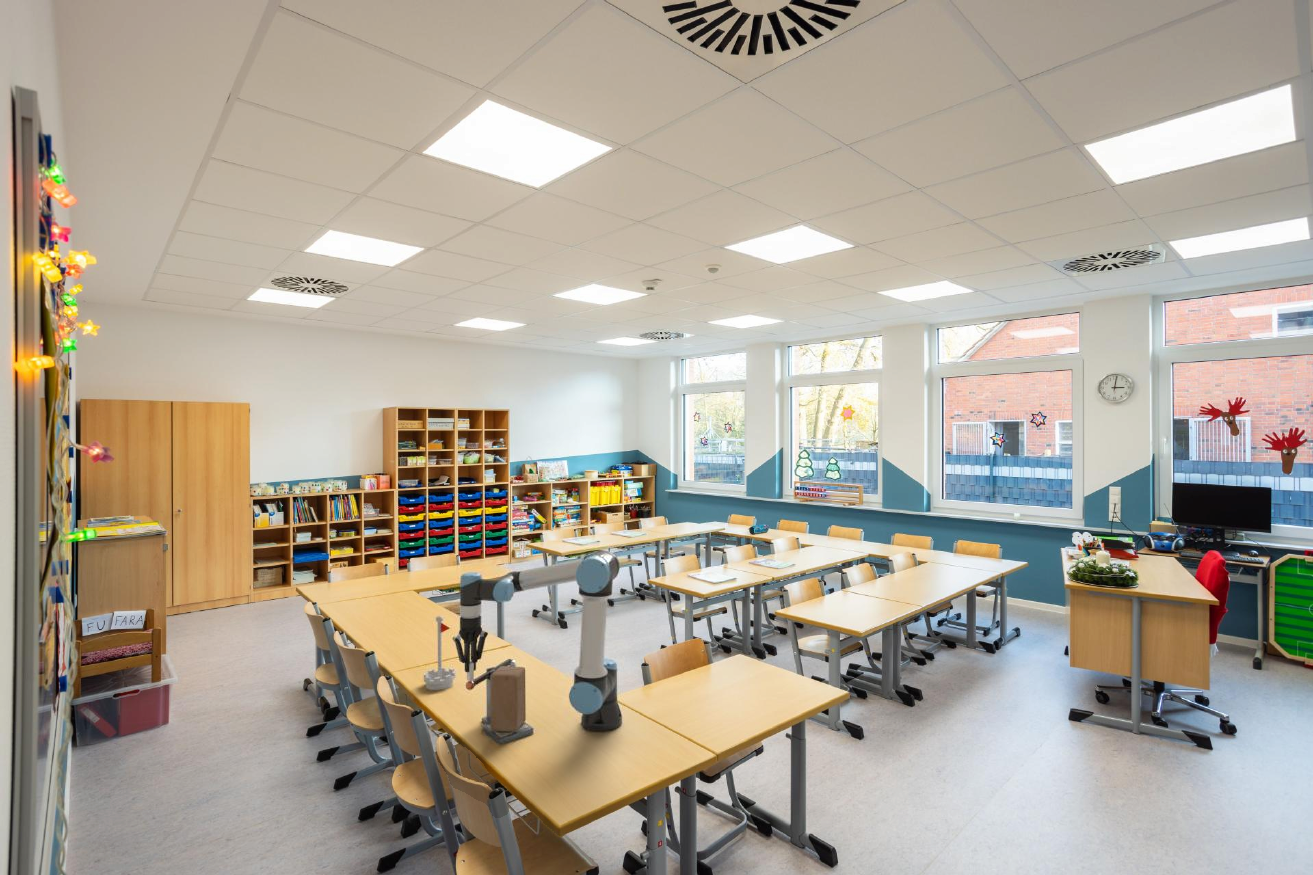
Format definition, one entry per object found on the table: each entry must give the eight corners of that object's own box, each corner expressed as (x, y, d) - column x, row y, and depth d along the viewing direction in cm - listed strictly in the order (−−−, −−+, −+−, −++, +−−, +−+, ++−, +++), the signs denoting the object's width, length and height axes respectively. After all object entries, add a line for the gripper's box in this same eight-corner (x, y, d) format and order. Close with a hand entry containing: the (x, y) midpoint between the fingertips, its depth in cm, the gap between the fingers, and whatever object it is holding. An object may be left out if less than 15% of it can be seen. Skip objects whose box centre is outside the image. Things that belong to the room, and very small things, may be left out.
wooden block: (516, 733, 223) (515, 676, 223) (489, 731, 224) (489, 674, 225) (526, 720, 233) (526, 666, 233) (500, 719, 234) (500, 664, 235)
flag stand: (417, 689, 270) (416, 618, 270) (435, 678, 282) (434, 610, 283) (444, 692, 266) (444, 620, 267) (461, 680, 279) (460, 612, 279)
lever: (518, 670, 243) (514, 656, 242) (471, 698, 231) (466, 684, 230) (514, 667, 246) (510, 654, 244) (467, 696, 233) (463, 682, 232)
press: (533, 733, 227) (533, 678, 228) (500, 744, 219) (499, 688, 219) (505, 713, 244) (504, 663, 244) (472, 723, 236) (472, 671, 236)
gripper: (482, 610, 240) (482, 673, 239) (449, 616, 231) (448, 681, 231) (491, 614, 234) (491, 678, 234) (457, 620, 225) (457, 687, 225)
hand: (470, 680), depth 232 cm, fingers closed
